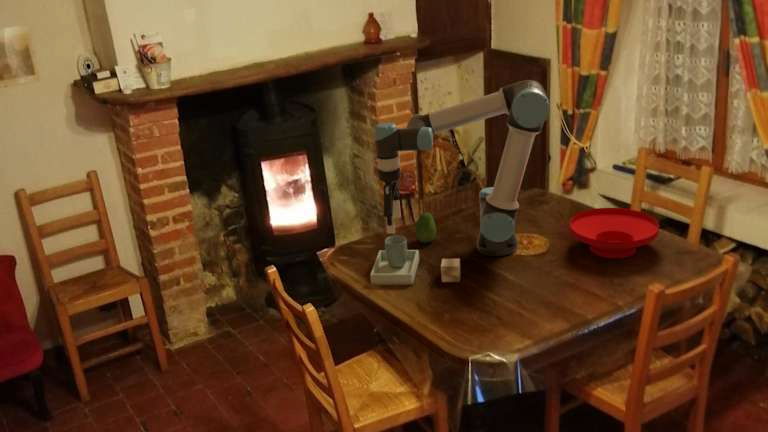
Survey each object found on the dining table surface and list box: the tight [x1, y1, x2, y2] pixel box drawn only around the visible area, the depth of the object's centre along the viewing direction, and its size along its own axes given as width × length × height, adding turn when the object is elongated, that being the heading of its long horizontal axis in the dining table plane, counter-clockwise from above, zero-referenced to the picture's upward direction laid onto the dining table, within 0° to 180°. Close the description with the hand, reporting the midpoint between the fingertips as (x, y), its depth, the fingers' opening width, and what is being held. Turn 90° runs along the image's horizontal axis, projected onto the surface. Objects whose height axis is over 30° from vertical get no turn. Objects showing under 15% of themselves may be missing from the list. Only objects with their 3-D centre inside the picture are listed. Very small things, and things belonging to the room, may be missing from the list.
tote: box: [369, 249, 420, 286], centre depth 290 cm, size 14×19×4 cm
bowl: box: [568, 207, 660, 259], centre depth 291 cm, size 30×30×10 cm
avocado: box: [414, 212, 437, 244], centre depth 310 cm, size 8×8×12 cm
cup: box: [384, 235, 408, 268], centre depth 291 cm, size 8×8×10 cm
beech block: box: [440, 258, 462, 283], centre depth 281 cm, size 6×6×6 cm
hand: (394, 225), depth 288 cm, fingers open, 13 cm apart
